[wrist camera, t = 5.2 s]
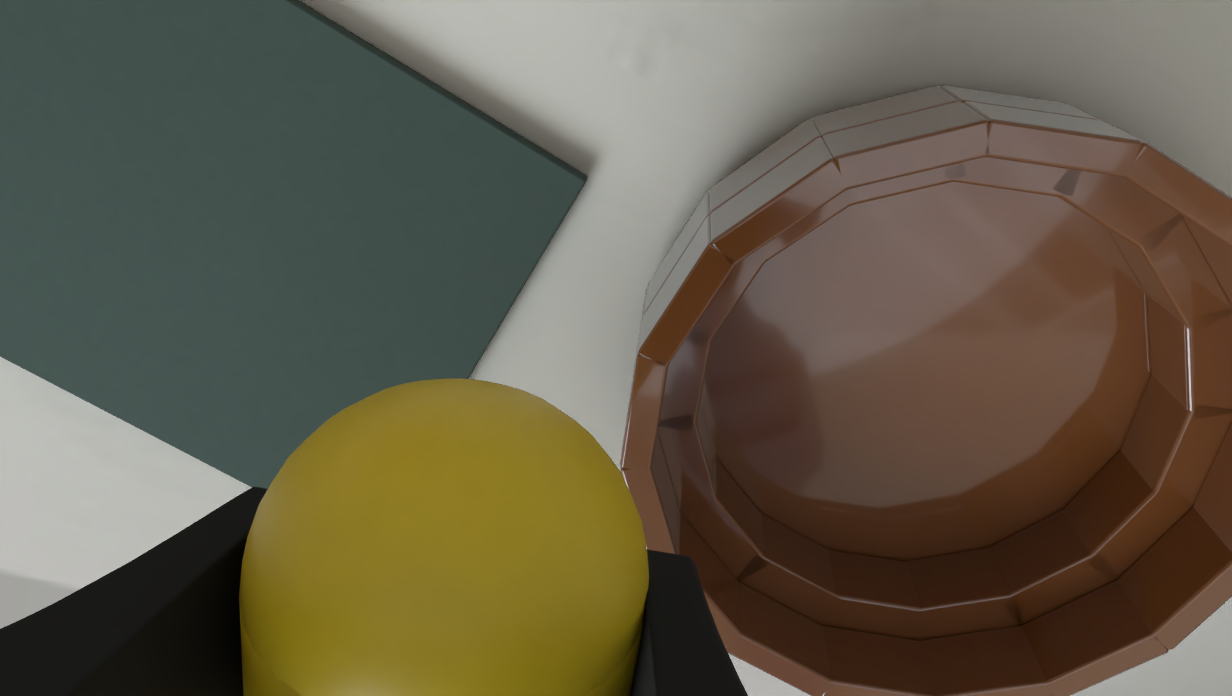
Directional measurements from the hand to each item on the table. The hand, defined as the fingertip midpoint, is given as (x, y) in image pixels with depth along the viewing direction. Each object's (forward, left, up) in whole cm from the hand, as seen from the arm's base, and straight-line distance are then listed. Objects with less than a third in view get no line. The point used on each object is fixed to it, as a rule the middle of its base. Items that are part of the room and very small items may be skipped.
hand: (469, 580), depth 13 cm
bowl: (0, -8, -9) cm, 12 cm away
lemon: (0, 0, -1) cm, 1 cm away
